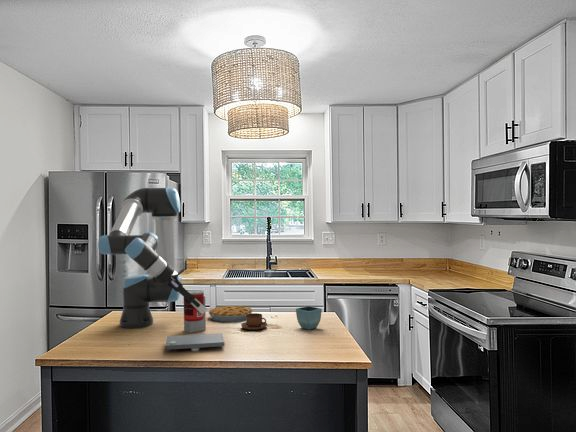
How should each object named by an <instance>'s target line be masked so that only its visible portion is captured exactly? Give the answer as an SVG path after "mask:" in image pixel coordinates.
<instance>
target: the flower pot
mask: <svg viewBox="0 0 576 432" xmlns="http://www.w3.org/2000/svg"><path fill="white" fill-rule="evenodd" d="M322 310H323V309H322V308H321V307H316V306H311V305H306V306H301V307H297V308H295V314H296V319H297V322H298V324H299V327H301V328H302V329H305V330H313V329H317V328H318V326H319V325H320V323H321V318H322V312H323V311H322Z"/></svg>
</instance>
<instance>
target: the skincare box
mask: <svg viewBox="0 0 576 432" xmlns="http://www.w3.org/2000/svg"><path fill="white" fill-rule="evenodd" d="M204 306H205V307H206V296H205V295H204ZM206 324H207V322H206V311H205V312H204V318H203V319H202V320H200V321H185V319H184V318H183V330H184V332H186V333H188V334H192V333H196V332H202V331H206V330H207V327H206V326H207V325H206Z"/></svg>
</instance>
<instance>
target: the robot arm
mask: <svg viewBox="0 0 576 432" xmlns="http://www.w3.org/2000/svg"><path fill="white" fill-rule="evenodd" d="M120 207H121V208H120V209H121V210H120V212H119V214H118V217H116V220H115V222H114V224H113V226H112V228H111V230H110V232H109V234H108V235H107V234H105V235H101V236H100V237H99V239H98V243H97V244H98V245H97V246H98V252H99V253H100V254H101V255H110V256H111V255H127V256H128V257H129V258H130V259H132V260H133V261H134V262H135V263H136V264H138V265H139V266H140V267H141V268H142V269H143V270H144V271H145V272H146V273H144V274H136V275H132V276H127V277H126V278H124V280H123V284H122V285H123V287H122V289H123V290H122V294H123V295H122V297H123V298H122V299H123V300H122V301H123V303H122V305H123V309H122V312H121V316H120V319H119V327H121V328H124V329H125V328H126V329H136V328H137V329H140V328H145V327H149V326H151V325H153V324H154V318H153V315H152V313H151V309H150V303H173V302H177V301H178V300H179V298H180V295H181V296H183V298H184V297H185V298H186V299H187V300H188V301H189V303H188V304H189V305H190V304H192V305H193V306H194V307H195V308H196V309H197V310H198V311H199V312H200V313H202V314H203V313H204V312H205V313H206V311H207V310H208V308H207V307H206V305H205V306H204V305H202V304H201V303H200V302H199V301H198V300H197V299H196V298H195V297H194V296H192V295H191V294H190V293H189V292H188V290H187V289H186V288H184V285H183V282H182V280H183V279H182V276H179V273H178V272H177V271H176V269H175V267H176V266H175V220H176V218H178V213H181V200H180V196H179V192H178V190H177V189H176V188H174V187H173V188H172V187H143V188H139V189H136V190H134V191H132V192H131V193H129V194H128V195H127V196H126V197H125V198H124V200H123V201H122V203H121V205H120ZM145 213H148V214H151V218H152V219H153V220H154V224H155V225H154V227H155V229H154V230H155V231H154V232H155V233H154V232H151V231H147V232H144V233H143V234H135V235H134V234H133V235H132V234H131V233H132V231H133V229H134V226H135V224H136V222H137V219H138V217H139V216H142V214H145ZM130 234H131V235H130ZM150 276H151V277H150Z"/></svg>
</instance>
